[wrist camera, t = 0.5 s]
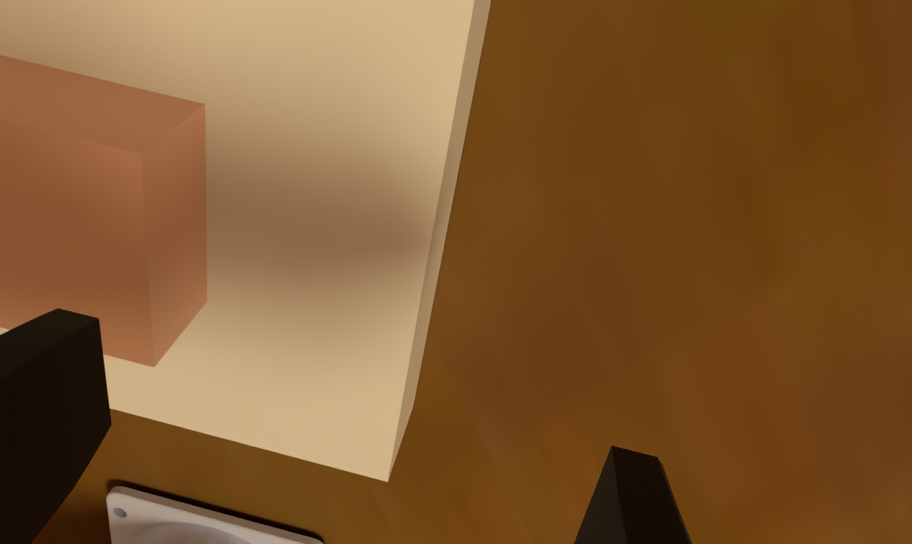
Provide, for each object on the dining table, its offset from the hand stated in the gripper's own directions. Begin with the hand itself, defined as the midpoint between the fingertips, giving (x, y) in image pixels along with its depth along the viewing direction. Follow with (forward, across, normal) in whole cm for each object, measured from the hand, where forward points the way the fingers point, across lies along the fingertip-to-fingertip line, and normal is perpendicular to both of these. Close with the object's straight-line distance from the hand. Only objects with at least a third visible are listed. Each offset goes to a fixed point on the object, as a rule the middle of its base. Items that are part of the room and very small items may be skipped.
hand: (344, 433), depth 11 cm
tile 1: (+6, +8, +1) cm, 10 cm away
